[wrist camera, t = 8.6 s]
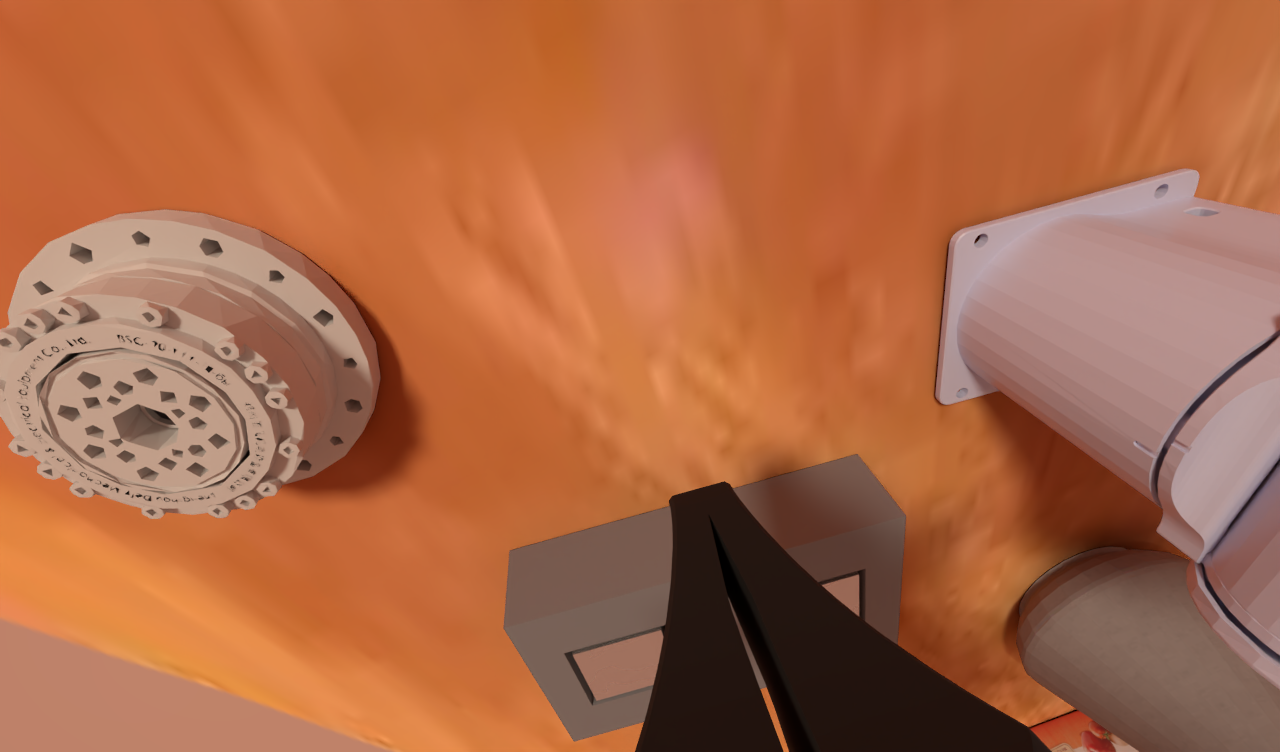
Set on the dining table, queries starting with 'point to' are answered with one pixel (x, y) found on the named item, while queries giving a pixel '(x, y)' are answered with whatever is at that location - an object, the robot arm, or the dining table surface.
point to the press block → (641, 576)
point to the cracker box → (1079, 735)
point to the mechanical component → (182, 364)
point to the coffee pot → (1143, 656)
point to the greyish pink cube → (621, 663)
